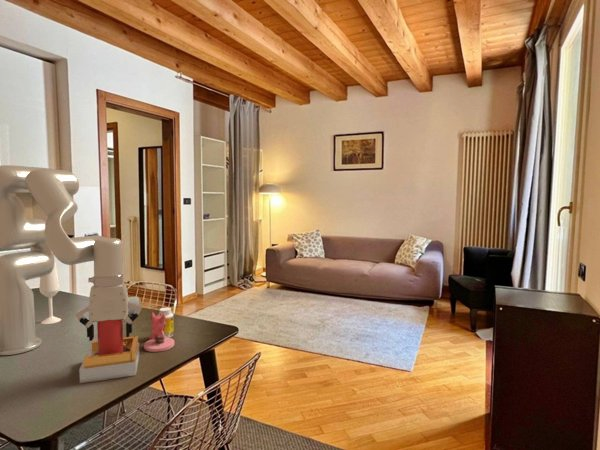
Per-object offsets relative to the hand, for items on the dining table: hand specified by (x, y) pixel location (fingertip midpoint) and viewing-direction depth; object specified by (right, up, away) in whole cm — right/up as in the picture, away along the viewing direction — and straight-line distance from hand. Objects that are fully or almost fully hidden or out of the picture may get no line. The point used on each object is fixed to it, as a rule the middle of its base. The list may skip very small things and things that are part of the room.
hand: (110, 337), depth 107 cm
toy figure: (+8, -8, +17) cm, 20 cm away
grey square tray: (0, -9, +1) cm, 9 cm away
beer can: (0, -5, 0) cm, 5 cm away
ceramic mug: (-18, -5, +48) cm, 52 cm away
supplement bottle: (+7, -8, +25) cm, 27 cm away
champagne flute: (-43, -5, +38) cm, 58 cm away
